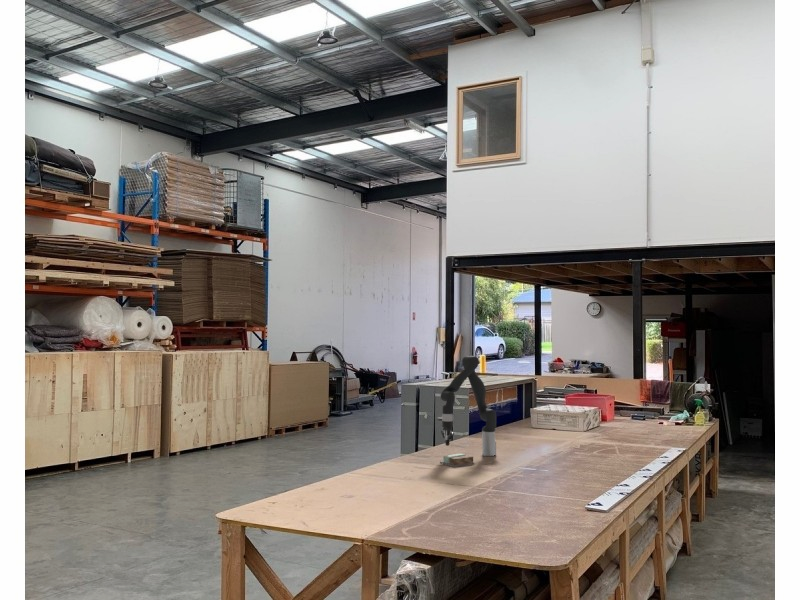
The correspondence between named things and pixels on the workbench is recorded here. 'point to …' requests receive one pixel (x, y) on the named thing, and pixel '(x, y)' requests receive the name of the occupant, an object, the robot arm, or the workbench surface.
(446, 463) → the base
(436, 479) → the workbench surface
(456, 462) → the walnut board
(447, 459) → the plank
